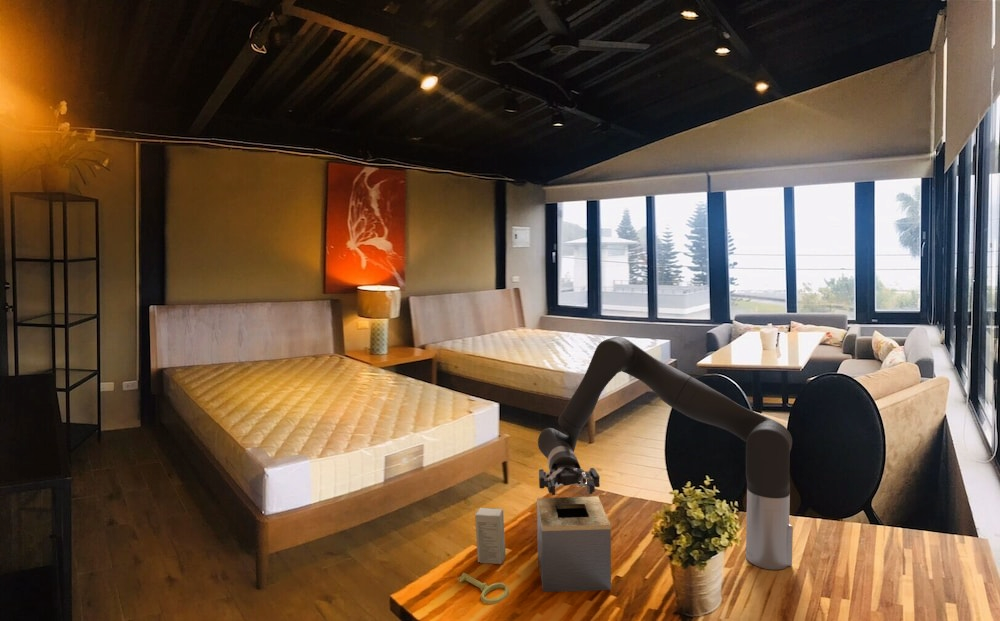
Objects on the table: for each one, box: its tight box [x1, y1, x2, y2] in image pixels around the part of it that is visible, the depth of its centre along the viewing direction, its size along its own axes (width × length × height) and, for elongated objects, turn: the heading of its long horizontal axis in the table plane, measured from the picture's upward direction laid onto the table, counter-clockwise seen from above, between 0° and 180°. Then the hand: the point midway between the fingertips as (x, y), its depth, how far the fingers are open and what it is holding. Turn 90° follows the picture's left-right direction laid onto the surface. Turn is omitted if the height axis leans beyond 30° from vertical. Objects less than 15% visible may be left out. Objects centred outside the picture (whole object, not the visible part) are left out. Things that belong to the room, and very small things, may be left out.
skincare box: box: [474, 507, 506, 565], centre depth 142 cm, size 6×4×12 cm
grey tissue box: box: [536, 495, 612, 593], centre depth 135 cm, size 15×15×15 cm
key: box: [456, 572, 510, 604], centre depth 128 cm, size 7×12×2 cm, turn 69°
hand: (572, 490), depth 132 cm, fingers open, 8 cm apart
